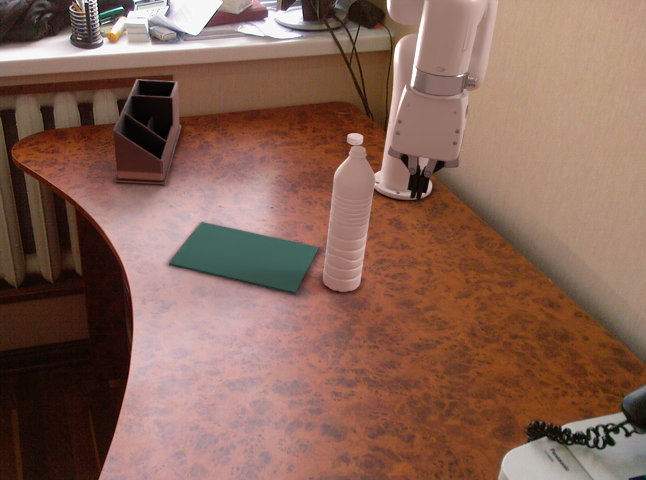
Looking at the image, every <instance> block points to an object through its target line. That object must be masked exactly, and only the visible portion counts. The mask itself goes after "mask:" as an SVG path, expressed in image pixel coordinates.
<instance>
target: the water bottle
mask: <svg viewBox="0 0 646 480" xmlns="http://www.w3.org/2000/svg"><path fill="white" fill-rule="evenodd" d="M346 136H347V138H346V142H347V143H348V144H349V145H353V146H351V147H350V151H349V152H348V157H346V159H345V160H344V161H343V162H342V163H341V164H339V166H338V167H337V169H336V171H335V172H334V175H333V180H332V181H333V182H332V183H333V184H332V194H331V203H330V212H329V220H328V229H327V239H326V245H325V246H326V248H325V258H324V265H323V271H322V272H323V273H322V282H323V284H324V285H325V286H326V287H328V288H329V289H330V290H332V291H335V292H337V291H338V292H339V293H348V292H353V291H354V290H356V289H357V288H358V287H360V285H361V280H362V274H363V273H362V271H363V268H364V267H363V266H364V259H365V253H366V251H365V250H366V246H367V245H366V243H367V239H368V231H369V225H370V219H371V210H372V205H373V197H374V192H375V191H374V190H375V188H374V186H375V175H374V174H375V172H374V170H373V169H372V167H371V164H370V163H369V161H368V159H367V158H366V157H367V156H368V154H367V148H365V147H364V146H362V144H363V142H364V135H362V134H361V133H356V132H352V133H348V134H347V135H346Z"/></svg>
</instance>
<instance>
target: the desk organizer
mask: <svg viewBox="0 0 646 480" xmlns="http://www.w3.org/2000/svg"><path fill="white" fill-rule="evenodd" d="M179 100H180V99H179V82H178V80H177V81H175V80H174V81H173V80H156V79H139V78H136V79H135V81H134V84H133V86H132V88H131V90H130V93H129V95H128V98H127V99H126V102H125V104H124V106H123V108H122V110H121V112H120V114H119V116H118V118H117V120H116V122H115V125H114V127H113V130H112V135H113V144H114V155H115V156H114V157H115V158H114V159H115V168H116V176H115V178H114V180H113V181H114V182H115V183H129V184H130V183H133V184H149V185H150V184H151V185H163V186H164V185H166V183H167V179H168V175H169V172H170V168H171V164H172V161H173V158H174V153H175V150H176V147H177V144H178V141H179V136H180V133H181V130H182V124H180V105H179Z"/></svg>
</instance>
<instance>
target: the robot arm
mask: <svg viewBox="0 0 646 480" xmlns="http://www.w3.org/2000/svg"><path fill="white" fill-rule="evenodd" d="M386 7H387V12H388V16H389V17H390V18H391V20H392V21H394V23H396V24H399V25H404V26H411V27H419V29H418V32H417V33H409V34H406V35H404V36H402V37H401V38H400V39H399V40H398V42H396V45H395V48H394V53H393V81H392V82H393V83H392V84H393V85H392V96H391V103H390V110H389V118H388V123H387V130H386V137H385V144H384V148H383V149H384V150H383V156H382V163H381V169H380V170H378V171H377V172H374V175H375V186H374V190H376V191H377V192H378V193H380V194H382V195H383V196H385V197H388V198H391V199H396V200H403V201H414V200H415V201H416V200H418V201H421V199H423V198H426V197H427V196H428V195H430V194H431V192H432V190H433V183H432V180H431V177H432V175H434V174H435V173H437V172H439V171H440V170H442V169H454V168H456V169H457V168H458V167H459V166H460V163H461V158H460V157H461V156H460V151H461V149H462V146H463V141H464V137H465V132H466V126H467V119H468V112H469V99H470V98H469V96H470V95H469V92H472V91H476V90H478V89H479V88H481V86H482V84H483V83H484V80H485V77H486V73H487V71H488V70H487V69H488V65H489V59H490V55H491V48H492V43H493V37H494V32H495V26H496V20H497V15H498V8H499V0H386Z"/></svg>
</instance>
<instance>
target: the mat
mask: <svg viewBox="0 0 646 480" xmlns="http://www.w3.org/2000/svg"><path fill="white" fill-rule="evenodd" d="M318 252H319V246H315V245H310V244H305V243H301V242H296V241H291V240H287V239H282V238H277V237H273V236H268V235H264V234H259V233H254V232H251V231H245V230H241V229H236V228H231V227H227V226H222V225H218V224H213V223H208V222H204V221H201V222H200V224H199V225H198V227H197V228H196V229H195V230H194V231H193V233H192V234H191V235H190V236H189V238H188V239H187V240H186V241H185V242H184V244H183V245H182V247H181V248H180V249H179V250H178V251H177V253H176V254H175V255H174V257H173V258H172V259H171V260H170V261H169V266H173V267H177V268H182V269H186V270H190V271H194V272H199V273H203V274H207V275H211V276H216V277H220V278H224V279H228V280H233V281H236V282H242V283H247V284H250V285H254V286H258V287H262V288H267V289H272V290H276V291H279V292H285V293H289V294H293V295H296V294H297V292H298V290H299V288H300V286H301V284H302V282H303V280H304V278H305V276H306V274H307V272H308V271H309V268H310V267H311V265H312V264H313V261H314V259H315V257H316V255H317V254H318Z"/></svg>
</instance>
